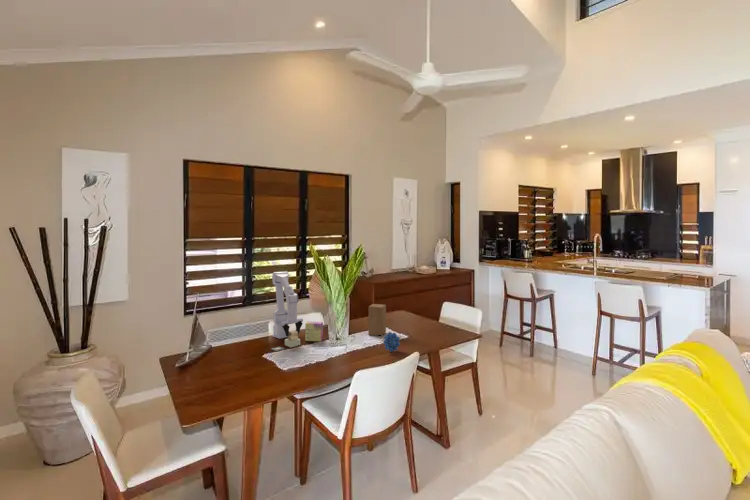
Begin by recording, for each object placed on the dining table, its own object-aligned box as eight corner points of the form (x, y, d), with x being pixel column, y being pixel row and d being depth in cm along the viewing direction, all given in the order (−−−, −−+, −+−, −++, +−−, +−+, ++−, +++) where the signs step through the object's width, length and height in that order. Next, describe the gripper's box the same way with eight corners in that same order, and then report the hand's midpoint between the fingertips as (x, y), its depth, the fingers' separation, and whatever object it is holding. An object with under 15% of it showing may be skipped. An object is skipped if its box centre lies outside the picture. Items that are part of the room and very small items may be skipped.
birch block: (287, 339, 236) (287, 331, 236) (294, 337, 240) (294, 330, 239) (291, 340, 233) (291, 332, 233) (297, 339, 236) (297, 331, 236)
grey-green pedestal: (284, 345, 237) (284, 339, 236) (294, 343, 242) (294, 336, 241) (290, 347, 232) (290, 341, 232) (300, 345, 237) (300, 339, 237)
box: (323, 339, 250) (322, 321, 249) (320, 341, 244) (320, 323, 243) (307, 338, 251) (307, 321, 250) (305, 341, 245) (305, 323, 244)
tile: (270, 349, 228) (270, 348, 228) (279, 347, 232) (279, 346, 232) (276, 351, 224) (276, 350, 224) (284, 349, 228) (284, 348, 228)
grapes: (387, 355, 218) (387, 335, 217) (381, 352, 223) (381, 332, 223) (403, 352, 224) (403, 332, 223) (397, 349, 229) (397, 329, 229)
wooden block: (368, 335, 259) (368, 306, 258) (372, 331, 269) (372, 303, 268) (382, 336, 256) (382, 307, 255) (386, 332, 266) (386, 304, 265)
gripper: (285, 316, 228) (285, 338, 228) (305, 312, 238) (305, 333, 239) (279, 314, 233) (279, 336, 233) (299, 311, 243) (299, 331, 244)
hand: (292, 334), depth 236 cm, fingers open, 7 cm apart
